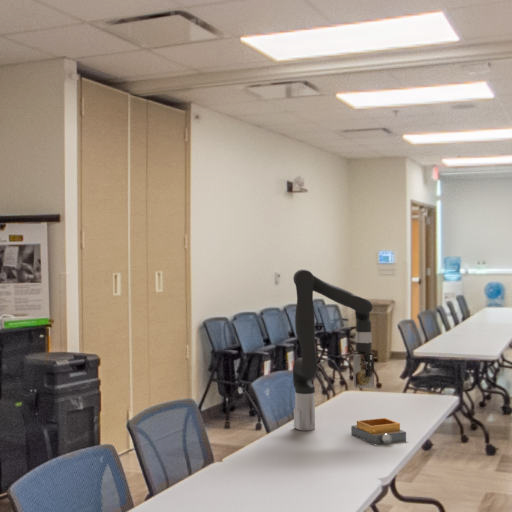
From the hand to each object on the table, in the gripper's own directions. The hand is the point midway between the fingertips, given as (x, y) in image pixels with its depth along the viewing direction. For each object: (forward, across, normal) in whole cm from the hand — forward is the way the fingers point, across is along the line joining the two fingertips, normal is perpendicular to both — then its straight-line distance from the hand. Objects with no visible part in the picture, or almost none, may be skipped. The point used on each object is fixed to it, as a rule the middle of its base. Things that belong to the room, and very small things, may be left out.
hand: (363, 375), depth 351 cm
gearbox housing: (+25, +20, -4) cm, 32 cm away
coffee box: (+5, 0, 0) cm, 5 cm away
